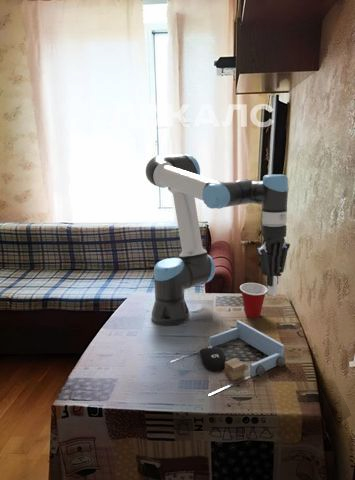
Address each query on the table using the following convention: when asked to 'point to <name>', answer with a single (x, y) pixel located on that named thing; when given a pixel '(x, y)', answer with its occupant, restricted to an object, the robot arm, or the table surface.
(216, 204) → the robot arm
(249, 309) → the plastic cup
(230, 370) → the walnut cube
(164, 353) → the table surface
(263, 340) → the blue u-shaped bracket
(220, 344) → the track
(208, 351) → the computer mouse
